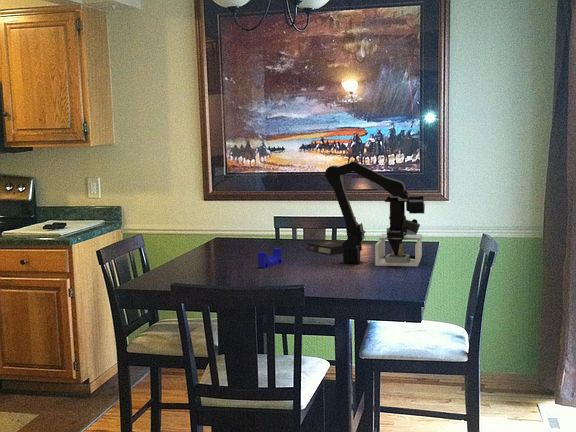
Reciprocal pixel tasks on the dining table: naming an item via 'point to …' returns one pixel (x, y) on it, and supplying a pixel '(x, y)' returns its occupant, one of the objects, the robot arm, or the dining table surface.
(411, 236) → the lid
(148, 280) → the dining table surface
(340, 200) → the robot arm
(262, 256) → the cable clip
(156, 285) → the dining table surface
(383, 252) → the housing
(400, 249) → the jaw peg
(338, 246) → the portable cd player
